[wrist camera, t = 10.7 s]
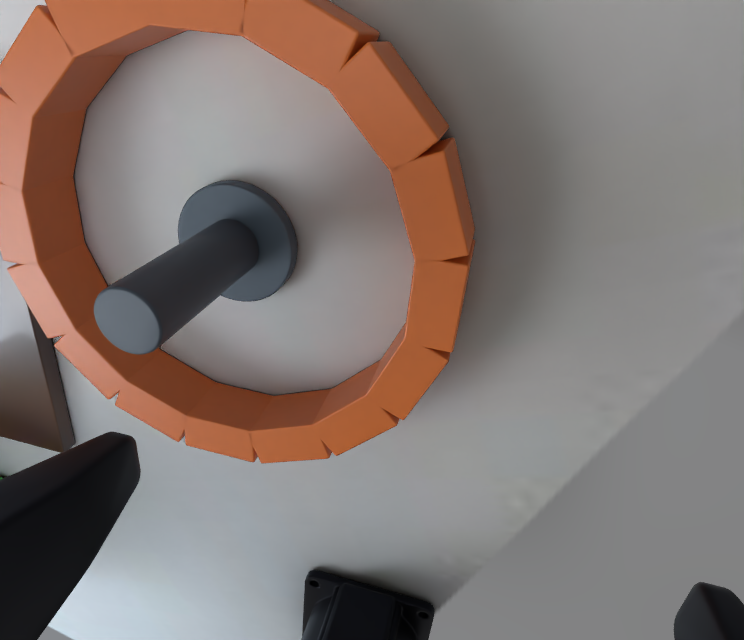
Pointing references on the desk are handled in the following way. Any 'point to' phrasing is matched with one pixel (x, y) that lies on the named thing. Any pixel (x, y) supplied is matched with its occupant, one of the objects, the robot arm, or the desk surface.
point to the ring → (84, 281)
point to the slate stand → (202, 266)
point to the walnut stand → (29, 375)
